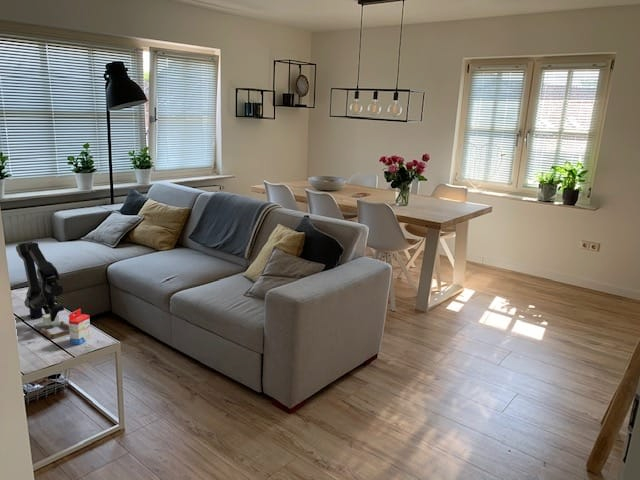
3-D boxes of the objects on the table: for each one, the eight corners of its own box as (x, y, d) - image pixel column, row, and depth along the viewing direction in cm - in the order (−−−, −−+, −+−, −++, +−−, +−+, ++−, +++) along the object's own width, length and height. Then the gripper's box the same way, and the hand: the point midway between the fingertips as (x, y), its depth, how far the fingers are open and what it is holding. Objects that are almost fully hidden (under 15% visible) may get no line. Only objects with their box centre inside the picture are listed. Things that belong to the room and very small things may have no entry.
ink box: (79, 345, 228) (77, 315, 225) (69, 343, 229) (67, 314, 226) (91, 337, 236) (89, 309, 233) (82, 336, 237) (80, 307, 234)
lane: (39, 331, 240) (39, 327, 240) (62, 324, 249) (62, 321, 248) (51, 339, 233) (51, 335, 232) (75, 332, 241) (75, 328, 240)
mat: (34, 325, 246) (34, 324, 246) (55, 319, 254) (55, 319, 254) (41, 330, 241) (41, 329, 241) (62, 324, 249) (62, 323, 249)
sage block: (42, 323, 244) (42, 315, 243) (55, 319, 248) (54, 312, 247) (46, 325, 241) (45, 318, 240) (59, 322, 246) (58, 314, 245)
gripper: (22, 289, 240) (25, 319, 244) (39, 299, 229) (42, 330, 233) (46, 284, 248) (48, 313, 252) (63, 294, 237) (65, 323, 241)
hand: (50, 320), depth 244 cm, fingers closed on sage block, 4 cm apart
